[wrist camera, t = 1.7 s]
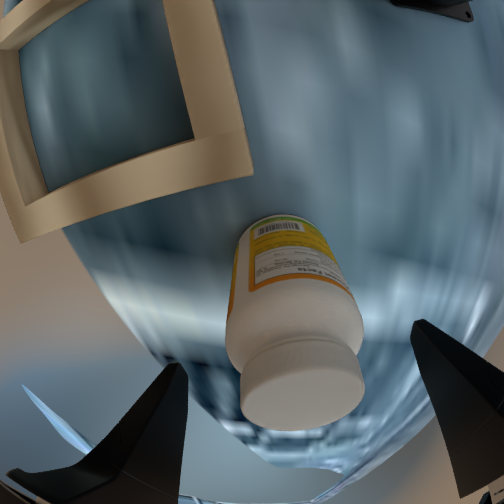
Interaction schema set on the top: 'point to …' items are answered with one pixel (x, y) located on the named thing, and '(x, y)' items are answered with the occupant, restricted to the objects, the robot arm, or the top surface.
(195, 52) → the tan square frame
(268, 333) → the supplement bottle
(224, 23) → the top surface
